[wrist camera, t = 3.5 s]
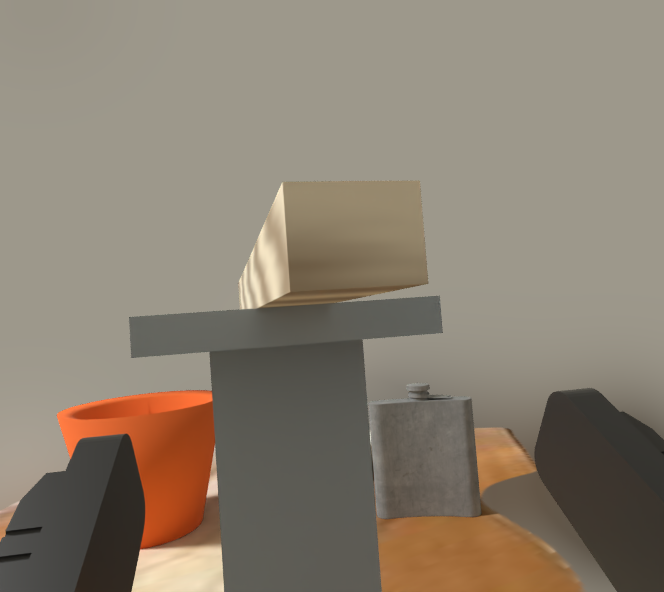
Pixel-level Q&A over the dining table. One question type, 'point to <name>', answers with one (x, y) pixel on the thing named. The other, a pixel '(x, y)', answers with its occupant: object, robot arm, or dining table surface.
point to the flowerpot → (157, 452)
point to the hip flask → (424, 455)
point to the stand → (292, 434)
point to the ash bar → (336, 244)
